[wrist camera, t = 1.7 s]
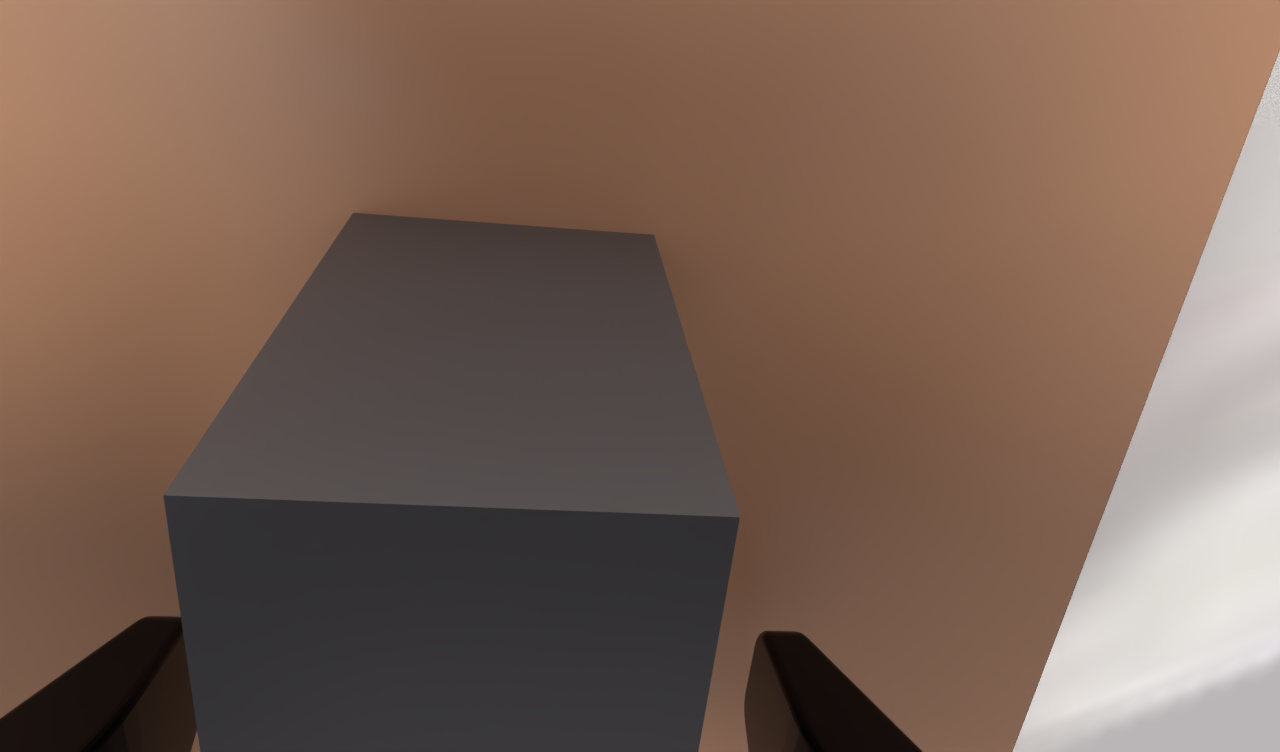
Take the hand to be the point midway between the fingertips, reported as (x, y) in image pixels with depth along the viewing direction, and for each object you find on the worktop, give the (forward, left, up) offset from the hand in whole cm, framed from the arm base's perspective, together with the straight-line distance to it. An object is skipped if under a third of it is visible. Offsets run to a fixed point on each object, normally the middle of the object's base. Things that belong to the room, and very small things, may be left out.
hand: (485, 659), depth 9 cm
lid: (0, 0, -3) cm, 3 cm away
